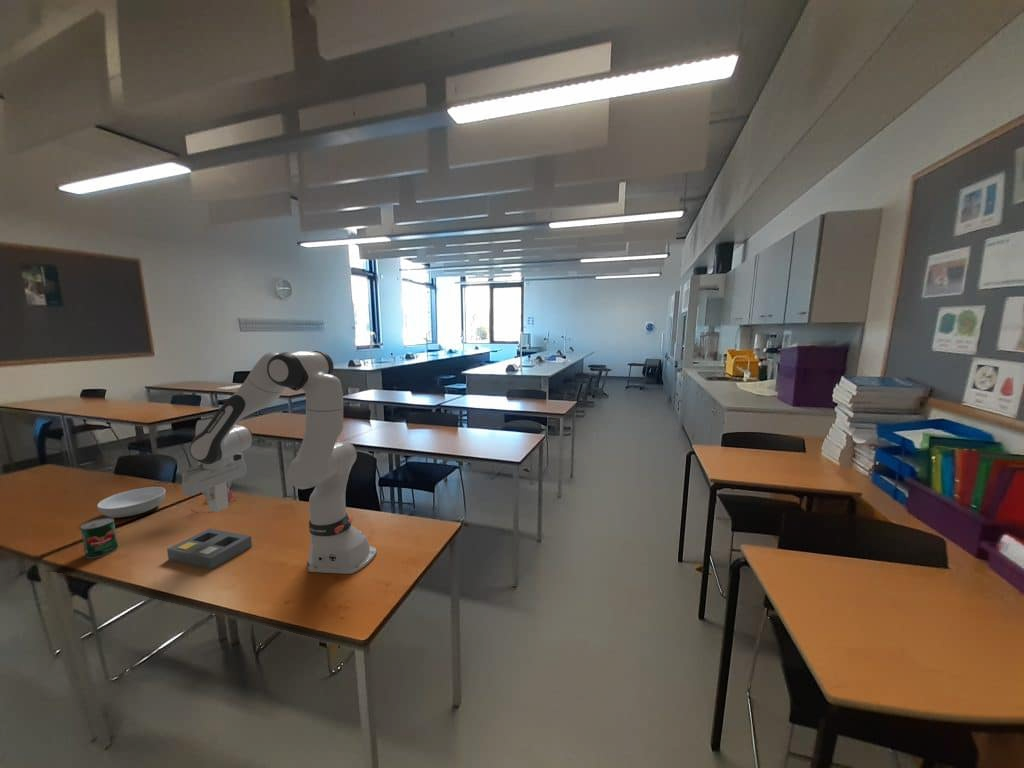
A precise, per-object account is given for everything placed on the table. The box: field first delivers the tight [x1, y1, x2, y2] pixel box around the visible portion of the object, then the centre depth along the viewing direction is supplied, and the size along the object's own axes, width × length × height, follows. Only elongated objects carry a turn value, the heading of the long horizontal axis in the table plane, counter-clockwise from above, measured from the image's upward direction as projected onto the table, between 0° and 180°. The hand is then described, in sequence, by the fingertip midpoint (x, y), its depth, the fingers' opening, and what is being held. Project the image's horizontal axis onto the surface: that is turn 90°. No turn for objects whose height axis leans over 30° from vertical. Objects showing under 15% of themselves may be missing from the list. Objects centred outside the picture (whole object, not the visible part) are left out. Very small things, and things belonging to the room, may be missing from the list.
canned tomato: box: [80, 517, 119, 559], centre depth 131 cm, size 8×8×11 cm
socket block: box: [166, 528, 253, 571], centre depth 131 cm, size 20×14×4 cm
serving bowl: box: [96, 486, 167, 518], centre depth 161 cm, size 21×21×7 cm
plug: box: [207, 482, 229, 513], centre depth 135 cm, size 4×4×10 cm
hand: (217, 496), depth 135 cm, fingers closed on plug, 4 cm apart
